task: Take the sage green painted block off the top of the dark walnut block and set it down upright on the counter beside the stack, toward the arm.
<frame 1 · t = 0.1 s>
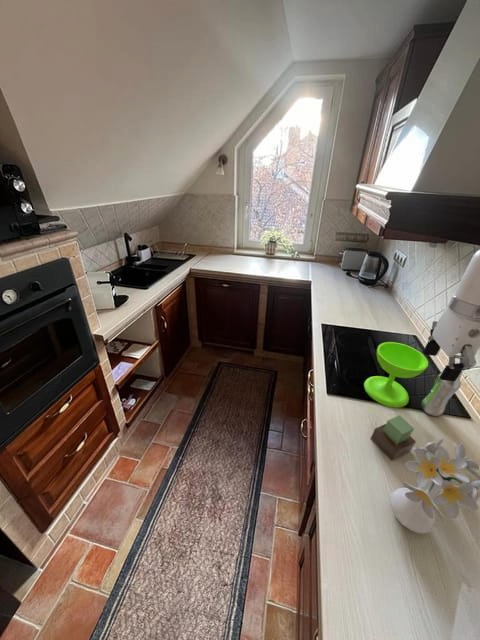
hand: (437, 366, 64), 32 cm above the worktop, tool pointing down, fingers open, 9 cm apart
plastic bottle: (429, 411, 92), on the worktop
walnut block: (389, 444, 80), on the worktop, touching green block
flower vase: (407, 519, 63), on the worktop
green block: (395, 434, 77), point 5 cm above the worktop, touching walnut block
wineglass: (385, 391, 100), on the worktop
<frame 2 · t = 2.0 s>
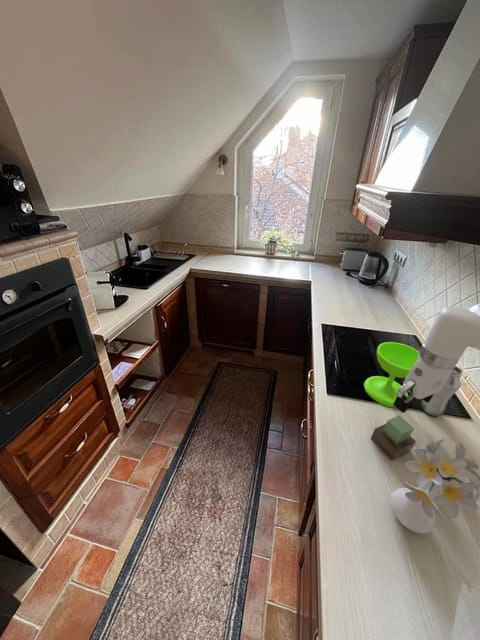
hand: (411, 403, 70), 19 cm above the worktop, tool pointing down, fingers open, 9 cm apart
nothing on the worktop moved.
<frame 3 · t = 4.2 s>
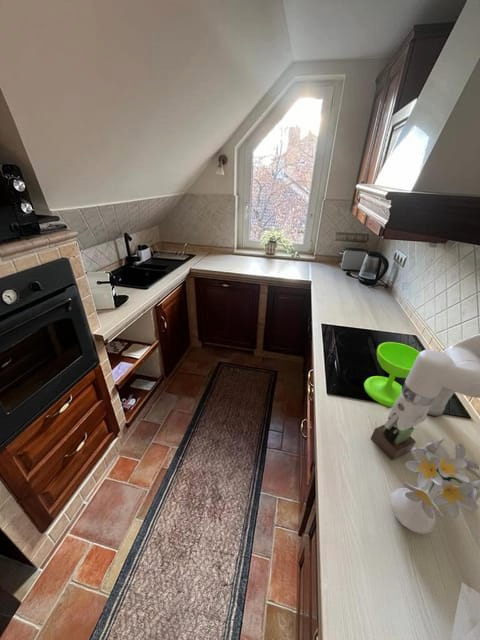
hand: (395, 433, 77), 5 cm above the worktop, tool pointing down, fingers closed on green block, 5 cm apart
green block: (395, 434, 77), point 5 cm above the worktop, touching gripper, walnut block
everything else where it was.
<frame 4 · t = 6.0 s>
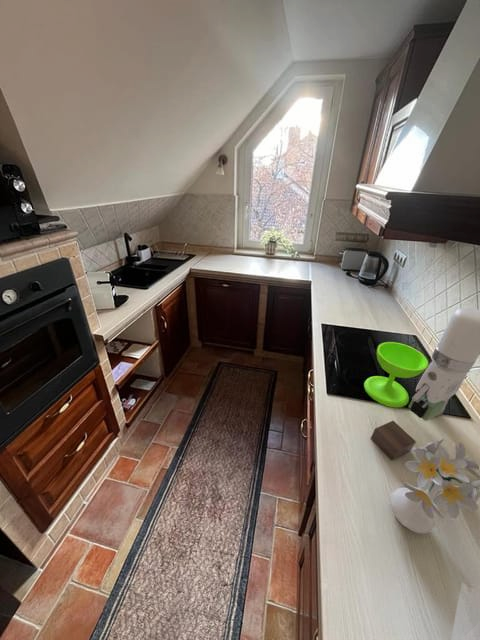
hand: (423, 409, 69), 18 cm above the worktop, tool pointing down, fingers closed on green block, 5 cm apart
walnut block: (389, 444, 80), on the worktop
green block: (422, 411, 69), point 18 cm above the worktop, touching gripper
everything else where it was.
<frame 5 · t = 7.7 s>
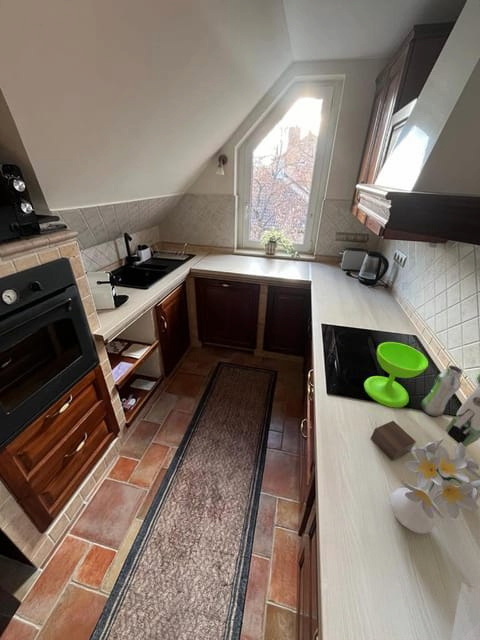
hand: (461, 434, 65), 16 cm above the worktop, tool pointing down, fingers closed on green block, 5 cm apart
green block: (460, 435, 65), point 16 cm above the worktop, touching gripper
everything else where it was.
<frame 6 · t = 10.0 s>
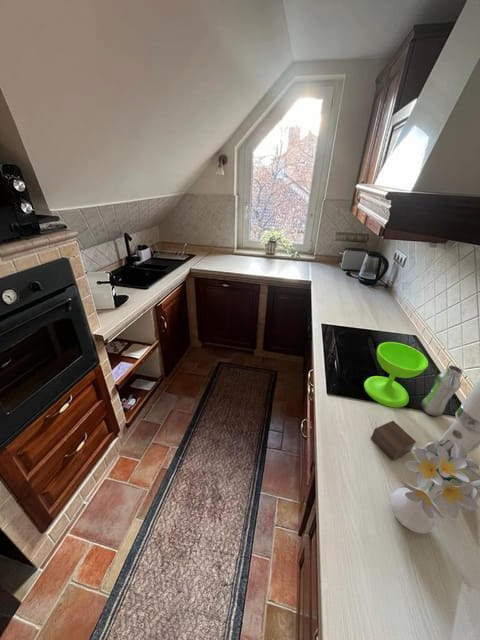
hand: (443, 460, 71), 5 cm above the worktop, tool pointing down, fingers closed on green block, 5 cm apart
green block: (443, 461, 71), point 5 cm above the worktop, touching gripper
everything else where it was.
when the fingers open (0 cm above the worktop, at t = 11.6 s): green block stays where it is, on the worktop.
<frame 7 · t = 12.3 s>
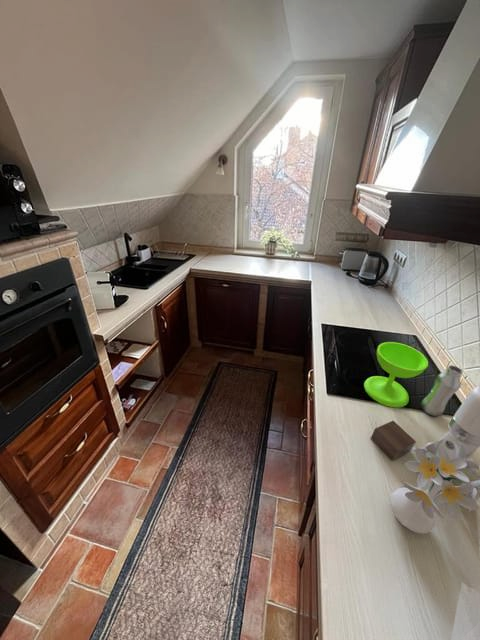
hand: (439, 467, 73), 2 cm above the worktop, tool pointing down, fingers open, 9 cm apart
green block: (436, 470, 73), on the worktop
everything else where it was.
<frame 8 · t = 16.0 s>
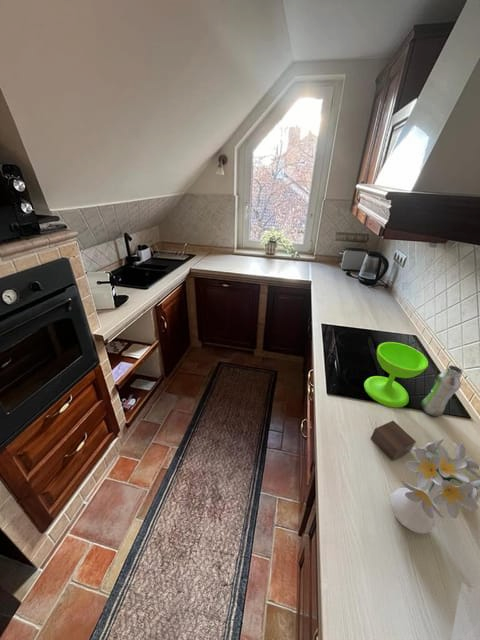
nothing on the worktop moved.
at the end: green block inside the target area (0.1 cm from its centre), on the worktop; green block tilted 0°; walnut block moved 0.0 cm from its start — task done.
